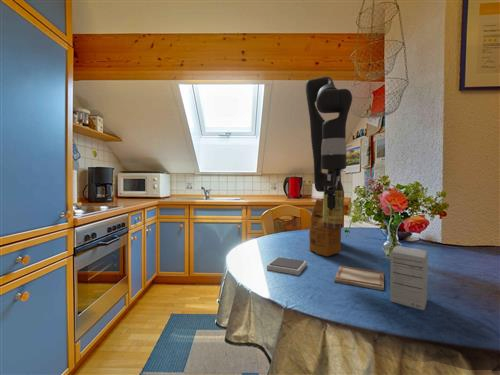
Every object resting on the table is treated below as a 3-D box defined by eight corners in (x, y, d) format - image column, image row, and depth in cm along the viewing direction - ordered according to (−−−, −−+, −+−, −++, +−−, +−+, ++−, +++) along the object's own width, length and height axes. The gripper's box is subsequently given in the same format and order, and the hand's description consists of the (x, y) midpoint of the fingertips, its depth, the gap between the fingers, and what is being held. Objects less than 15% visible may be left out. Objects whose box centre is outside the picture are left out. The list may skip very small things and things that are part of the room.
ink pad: (277, 261, 95) (277, 256, 95) (306, 265, 90) (306, 260, 90) (266, 269, 86) (266, 264, 86) (298, 275, 81) (298, 269, 81)
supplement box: (394, 291, 69) (395, 245, 69) (427, 299, 64) (428, 250, 64) (388, 301, 63) (389, 251, 63) (424, 311, 59) (425, 257, 58)
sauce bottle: (329, 230, 77) (329, 164, 76) (318, 226, 83) (318, 165, 82) (348, 229, 79) (348, 164, 78) (336, 225, 85) (336, 165, 84)
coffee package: (323, 247, 113) (323, 197, 112) (344, 254, 102) (345, 200, 101) (305, 250, 109) (305, 198, 108) (325, 258, 98) (325, 201, 97)
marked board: (340, 268, 87) (340, 265, 87) (383, 274, 81) (383, 271, 81) (334, 281, 75) (334, 278, 75) (383, 290, 70) (383, 286, 70)
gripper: (326, 156, 88) (326, 204, 89) (315, 152, 76) (315, 209, 76) (349, 155, 84) (349, 205, 85) (342, 151, 72) (342, 210, 72)
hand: (333, 206), depth 81 cm, fingers closed on sauce bottle, 6 cm apart
